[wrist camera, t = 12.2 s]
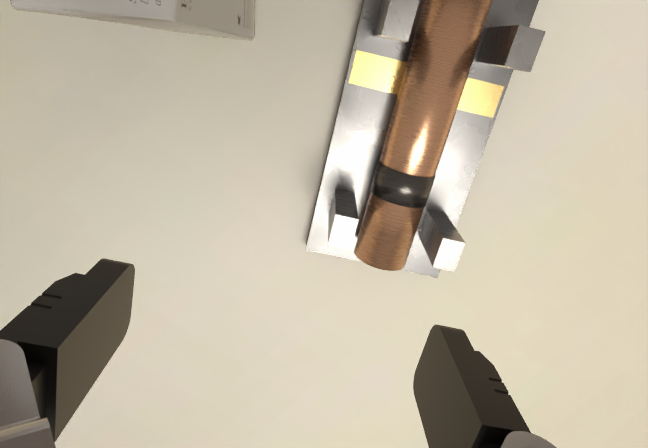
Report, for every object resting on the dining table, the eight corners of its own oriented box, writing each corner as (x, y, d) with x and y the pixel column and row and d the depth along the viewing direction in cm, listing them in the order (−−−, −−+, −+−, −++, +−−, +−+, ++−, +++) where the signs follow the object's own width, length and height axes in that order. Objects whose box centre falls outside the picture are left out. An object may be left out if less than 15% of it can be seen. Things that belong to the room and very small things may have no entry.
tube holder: (434, 271, 35) (454, 315, 29) (306, 244, 34) (301, 283, 29) (537, -16, 28) (589, -30, 22) (377, -58, 27) (389, -84, 21)
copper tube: (424, -18, 27) (436, -27, 23) (485, -3, 27) (506, -10, 24) (352, 240, 33) (353, 263, 30) (402, 251, 33) (409, 275, 30)
